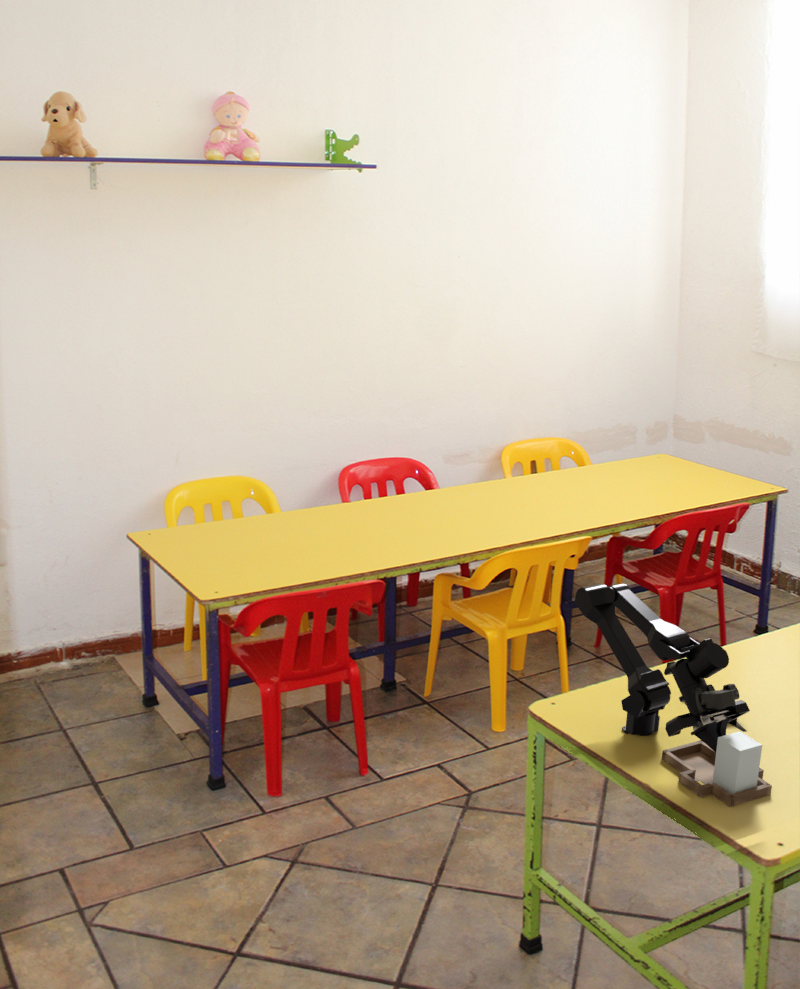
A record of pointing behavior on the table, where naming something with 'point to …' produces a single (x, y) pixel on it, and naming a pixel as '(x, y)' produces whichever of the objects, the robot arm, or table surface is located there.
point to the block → (737, 762)
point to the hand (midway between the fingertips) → (725, 757)
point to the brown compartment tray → (708, 774)
